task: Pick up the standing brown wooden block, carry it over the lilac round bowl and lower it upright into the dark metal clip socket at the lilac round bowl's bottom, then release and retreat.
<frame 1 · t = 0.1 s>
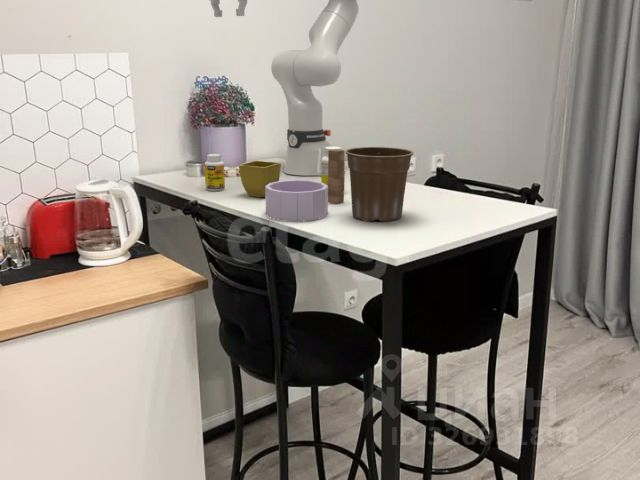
hand: (229, 16, 179), 48 cm above the table, fingers open, 8 cm apart
flower pot: (260, 196, 181), on the table
brown wooden block: (335, 202, 173), on the table
supplement bottle: (332, 192, 185), on the table
plant pot: (377, 216, 159), on the table
lilac round bowl: (296, 213, 161), on the table
supplement bottle 2: (215, 190, 188), on the table
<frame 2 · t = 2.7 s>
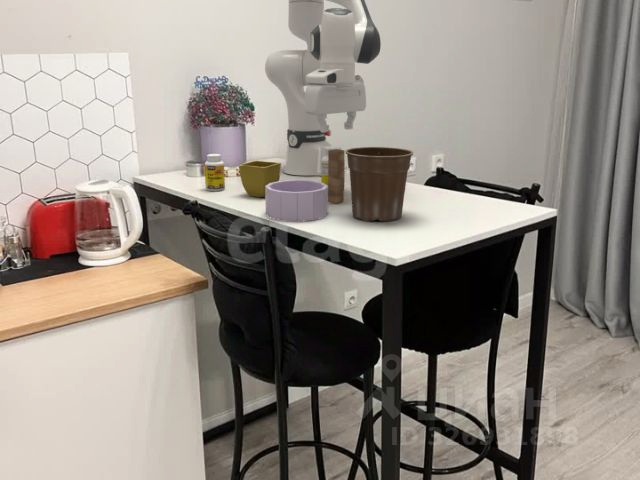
hand: (336, 130, 167), 19 cm above the table, fingers open, 8 cm apart
nothing on the table moved.
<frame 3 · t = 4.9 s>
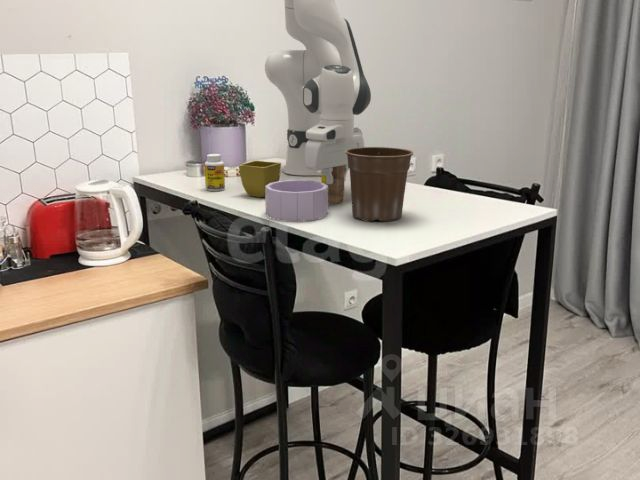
hand: (336, 182, 171), 5 cm above the table, fingers closed on brown wooden block, 3 cm apart
brown wooden block: (335, 202, 173), on the table, touching gripper
everything else where it was.
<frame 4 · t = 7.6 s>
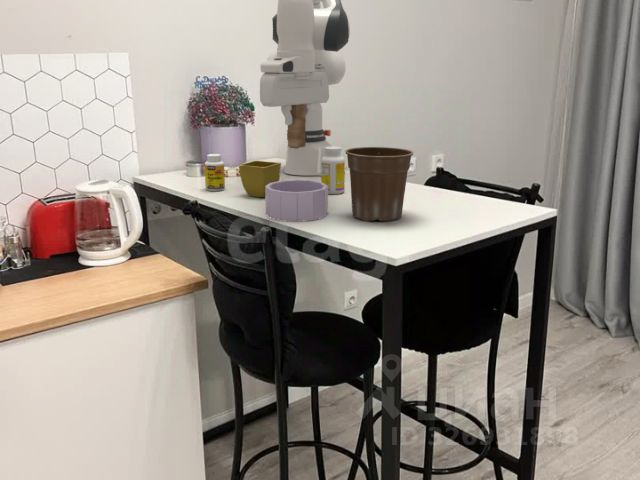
hand: (296, 124, 155), 22 cm above the table, fingers closed on brown wooden block, 3 cm apart
brown wooden block: (296, 146, 156), point 17 cm above the table, touching gripper
everything else where it was.
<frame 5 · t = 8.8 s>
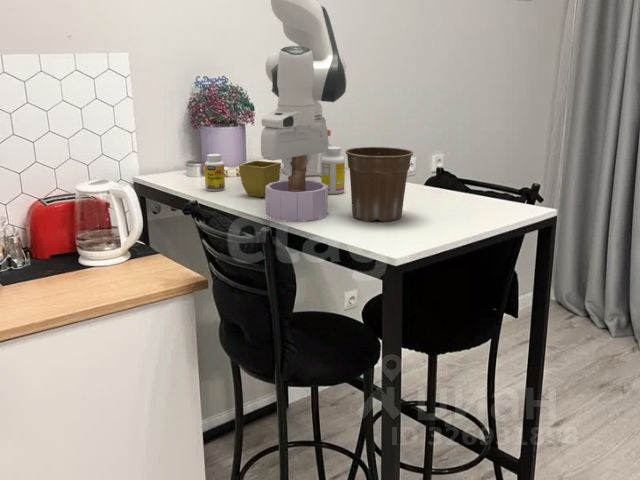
hand: (296, 174, 158), 10 cm above the table, fingers closed on brown wooden block, 3 cm apart
brown wooden block: (296, 195, 160), point 5 cm above the table, touching gripper
everything else where it was.
when the fingers open (7 cm above the table, at t = 10.1 s): brown wooden block stays where it is, resting on lilac round bowl.
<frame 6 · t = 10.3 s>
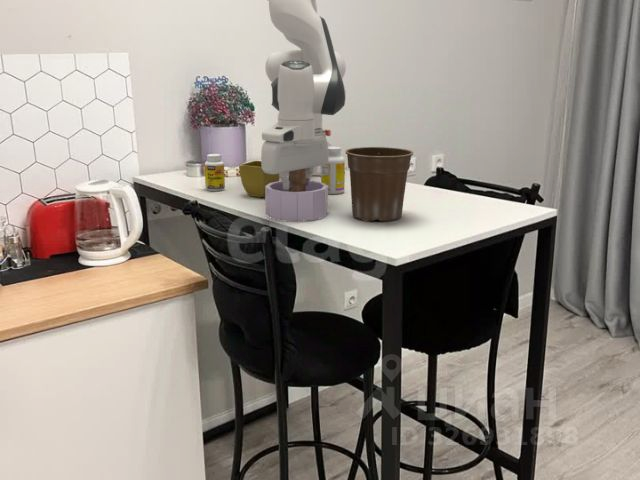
hand: (296, 187, 159), 7 cm above the table, fingers open, 5 cm apart
brown wooden block: (297, 210, 161), point 1 cm above the table, touching lilac round bowl
everything else where it was.
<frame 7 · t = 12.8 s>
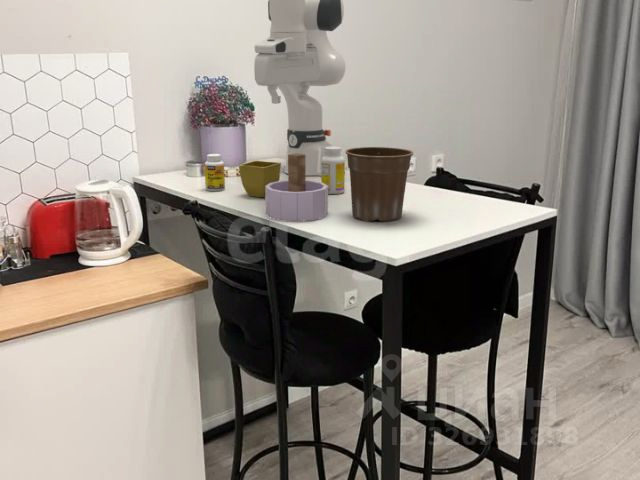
hand: (289, 101, 163), 27 cm above the table, fingers open, 8 cm apart
nothing on the table moved.
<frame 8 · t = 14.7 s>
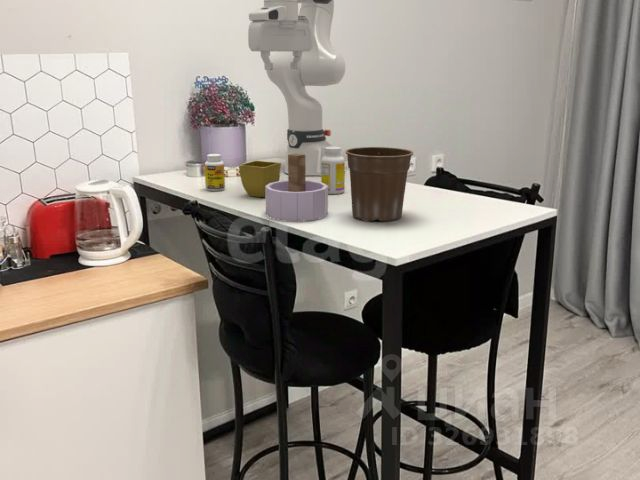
hand: (281, 69, 171), 34 cm above the table, fingers open, 8 cm apart
nothing on the table moved.
at the end: brown wooden block 0.1 cm off-centre on the lilac round bowl, point 0.8 cm above the lilac round bowl's base; brown wooden block tilted 0°; the gripper is holding nothing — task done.
